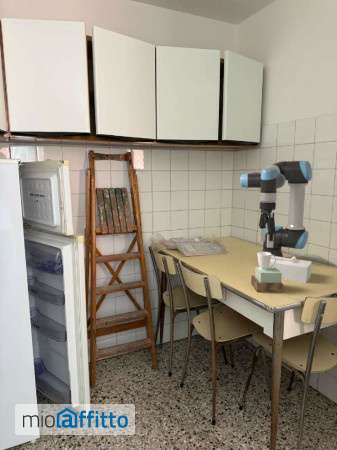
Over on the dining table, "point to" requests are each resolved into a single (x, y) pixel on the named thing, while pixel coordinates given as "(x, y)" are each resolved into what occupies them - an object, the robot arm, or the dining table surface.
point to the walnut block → (266, 286)
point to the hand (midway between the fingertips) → (265, 244)
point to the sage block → (268, 275)
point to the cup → (265, 260)
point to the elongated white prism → (292, 268)
